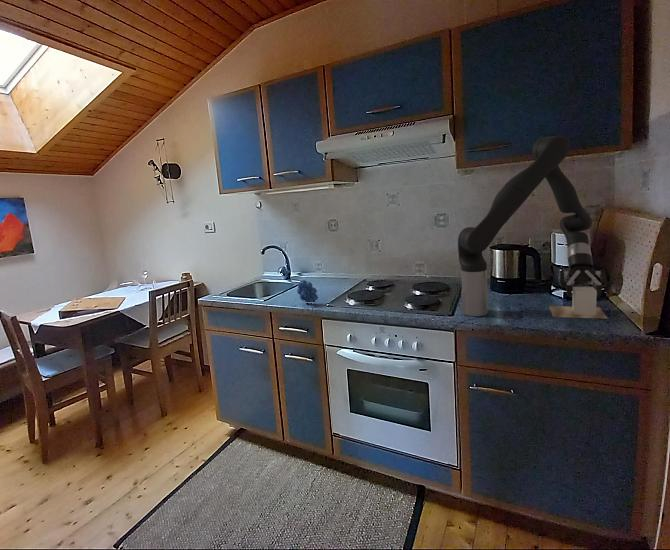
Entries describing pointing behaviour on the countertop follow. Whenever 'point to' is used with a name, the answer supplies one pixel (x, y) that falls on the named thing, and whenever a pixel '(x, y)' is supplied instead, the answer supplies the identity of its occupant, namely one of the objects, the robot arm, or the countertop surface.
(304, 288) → the grapes
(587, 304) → the light grey cuboid block
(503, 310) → the countertop surface
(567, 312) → the board
